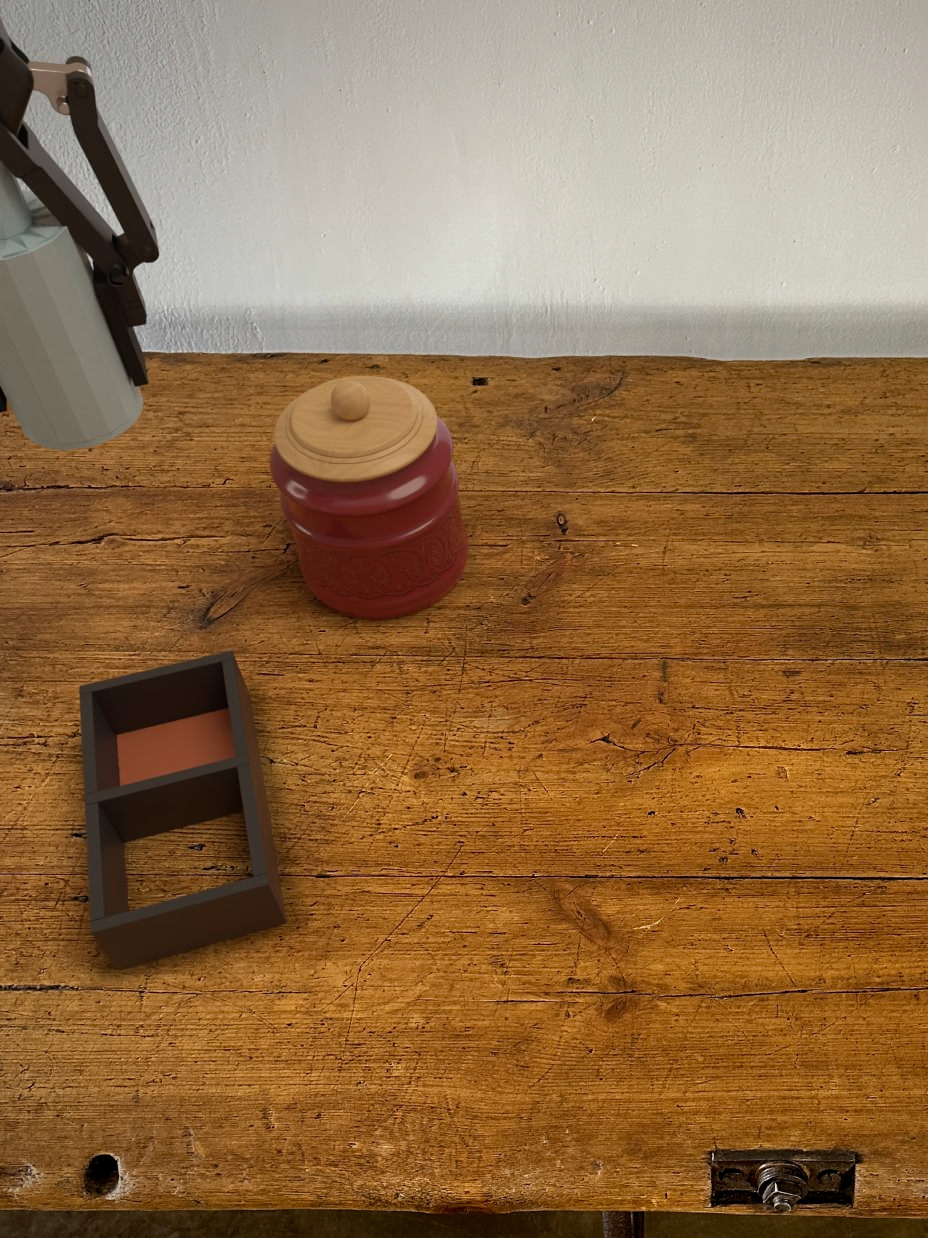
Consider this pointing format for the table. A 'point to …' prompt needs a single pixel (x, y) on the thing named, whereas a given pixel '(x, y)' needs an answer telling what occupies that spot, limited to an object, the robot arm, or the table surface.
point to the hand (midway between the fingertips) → (70, 384)
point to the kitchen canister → (370, 496)
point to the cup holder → (173, 802)
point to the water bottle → (56, 332)
